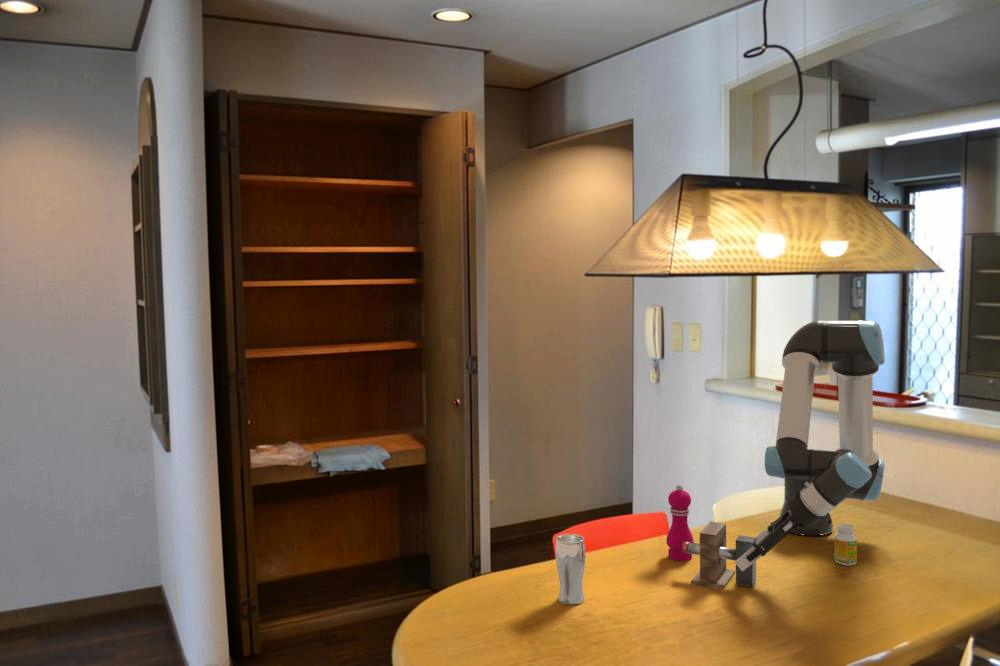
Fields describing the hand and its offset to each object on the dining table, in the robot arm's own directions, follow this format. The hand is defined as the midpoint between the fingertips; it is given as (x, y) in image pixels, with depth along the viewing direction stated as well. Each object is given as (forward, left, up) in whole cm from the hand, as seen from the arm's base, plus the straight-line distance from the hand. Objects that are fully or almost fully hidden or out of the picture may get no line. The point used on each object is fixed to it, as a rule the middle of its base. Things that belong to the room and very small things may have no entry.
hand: (744, 557), depth 192 cm
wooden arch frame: (+6, -5, -7) cm, 10 cm away
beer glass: (+44, -1, -7) cm, 44 cm away
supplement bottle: (-32, -7, -7) cm, 34 cm away
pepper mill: (+8, -21, -7) cm, 24 cm away
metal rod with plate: (+5, -4, -6) cm, 9 cm away
